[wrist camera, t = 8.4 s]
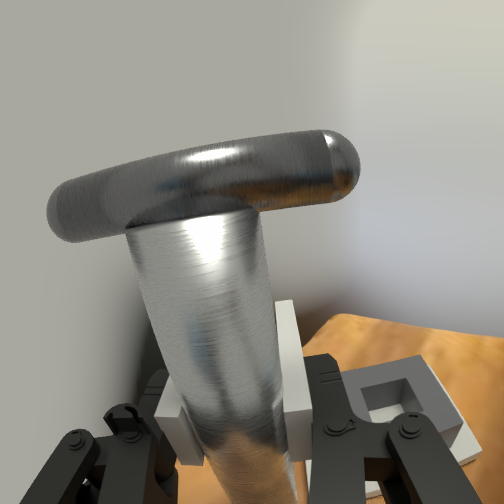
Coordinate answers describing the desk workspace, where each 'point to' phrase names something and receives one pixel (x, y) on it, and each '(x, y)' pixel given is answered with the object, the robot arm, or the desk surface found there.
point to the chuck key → (215, 280)
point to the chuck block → (407, 404)
